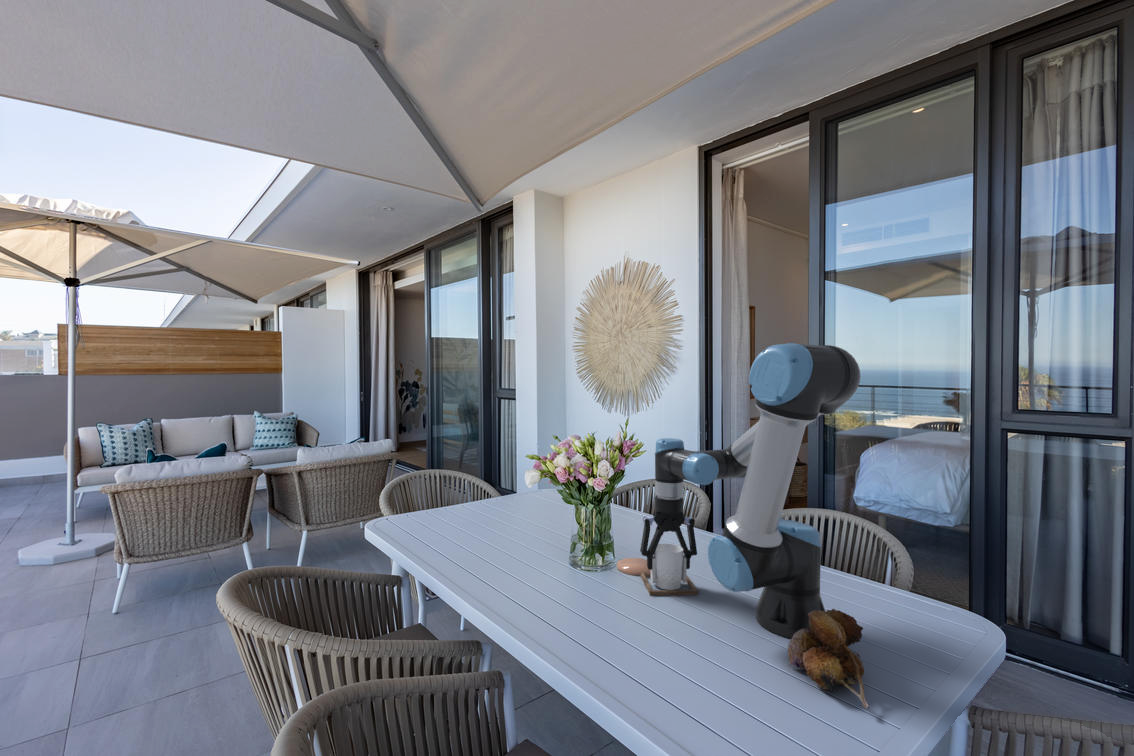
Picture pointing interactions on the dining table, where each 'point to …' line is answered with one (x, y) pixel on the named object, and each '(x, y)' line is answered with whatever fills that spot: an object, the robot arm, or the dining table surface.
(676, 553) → the white cup
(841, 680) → the seed pod
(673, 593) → the walnut tray frame
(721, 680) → the dining table surface
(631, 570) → the peach flat disc
